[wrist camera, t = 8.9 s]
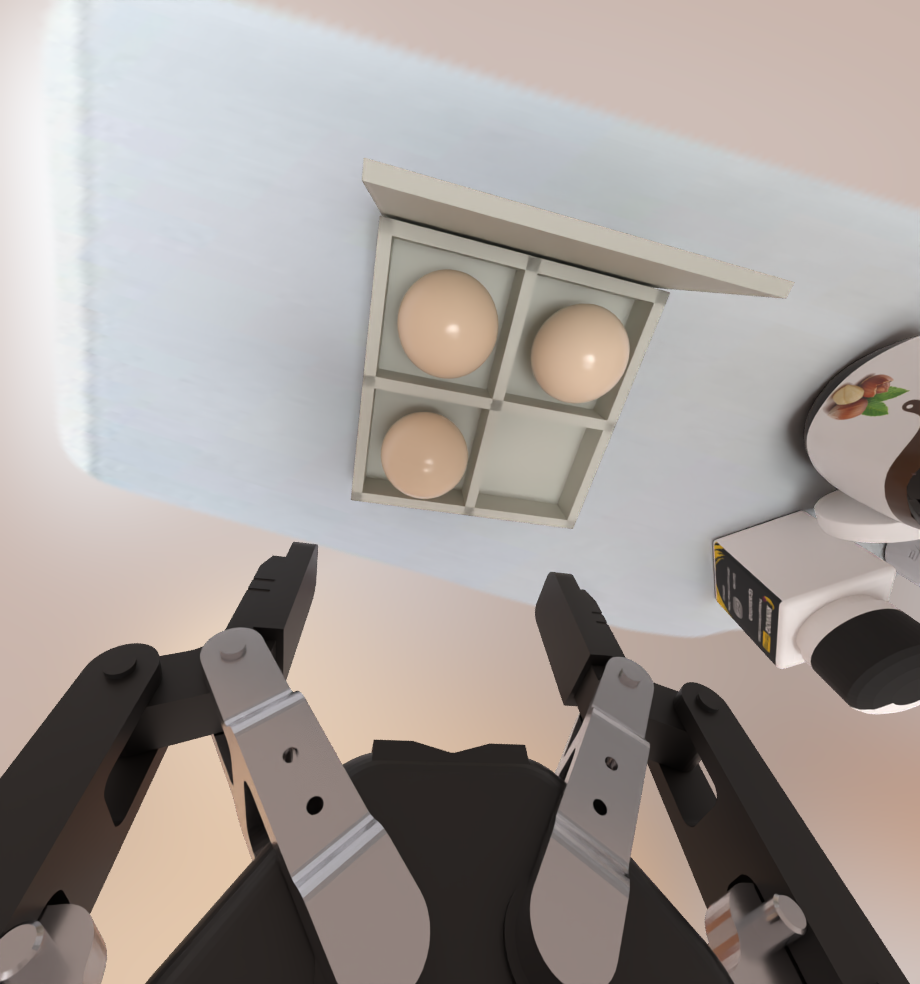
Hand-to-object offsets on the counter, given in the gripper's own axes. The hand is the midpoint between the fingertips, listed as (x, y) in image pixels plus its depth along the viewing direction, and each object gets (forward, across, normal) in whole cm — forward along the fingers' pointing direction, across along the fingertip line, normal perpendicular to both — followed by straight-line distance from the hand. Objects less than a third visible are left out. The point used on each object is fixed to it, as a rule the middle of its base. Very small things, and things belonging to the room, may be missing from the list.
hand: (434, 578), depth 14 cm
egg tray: (+13, -3, -4) cm, 14 cm away
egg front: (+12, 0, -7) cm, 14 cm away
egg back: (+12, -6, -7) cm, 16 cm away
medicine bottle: (+14, -28, +6) cm, 32 cm away
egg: (+12, 0, 0) cm, 12 cm away
